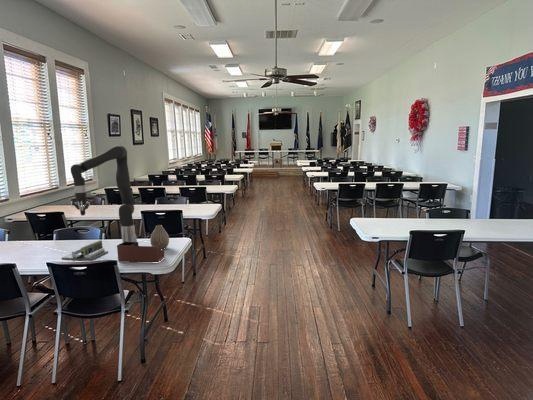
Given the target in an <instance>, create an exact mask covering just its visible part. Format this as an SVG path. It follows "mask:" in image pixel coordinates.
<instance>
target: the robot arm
mask: <svg viewBox="0 0 533 400" xmlns="http://www.w3.org/2000/svg"><path fill="white" fill-rule="evenodd" d="M112 160H116V172H115V181H116V187H117V189H118V192H119V194H120V197H121V205H120V206H119V208H118V218H119V223H120V230H121V231H120V232H121V241H122V242H121V243H123V242H138V239H137V234H136V229H135V220H133V214H134V212H135V206H134V205H135V204H134V201H133V197H132V187H131V179H130V172H129V166H128V150H127V149H126V147H125V146H122V145H114V146H113V147H111V148H110V149H108V150H106V151H105V152H103V153H101V154H98V155H96V156H92V157H91V158H90V157H89V158H88V159H85V160H84V161H82V162H80V163H74V164H72V165H71V166H70V173H71V177H72V180H73V185H74V186H73V189H74V198H75V202H72V205H73V206H74V207H75V209H76V210H79V212H80V216H85V215H86V210H87V209H88V208H90V205H91V202H89V201H88V199H87V197H88V195H87V186H86V181H85V178H84V176H83V175H82V174H83V173H85V172H87V171H90V170H92V169H94V168H97V167H99V166H100V165H103V164H105V163H106V162H110V161H112Z"/></svg>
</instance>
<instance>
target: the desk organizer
mask: <svg viewBox="0 0 533 400" xmlns="http://www.w3.org/2000/svg"><path fill="white" fill-rule="evenodd" d="M116 249H117V261H129V262H128V263H137V262H159V261H161V260H162V259H163V258H166V257H165V255H166V254H165V251H164V250H161V249H160V248H158V247H155V246H152V245H139V241H137V242H123V243H122V242H121V243H119V244H117V245H116ZM161 262H162V261H161Z"/></svg>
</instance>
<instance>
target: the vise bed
mask: <svg viewBox="0 0 533 400" xmlns="http://www.w3.org/2000/svg"><path fill="white" fill-rule="evenodd" d="M108 253H109V250H105V248H104V247H103V248H98V249H96V250H94V251H92V252H89V253H87V254H85V257H84V258H82V257H81V258H79V259H77V258H76V257H72V252H71V253H70V254H66V255H64V256H63V257H61V260H68V261H69V260H71V261H95V260H96V259H99V257H102V256H104V255H105V254H108Z"/></svg>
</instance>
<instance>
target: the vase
mask: <svg viewBox="0 0 533 400" xmlns="http://www.w3.org/2000/svg"><path fill="white" fill-rule="evenodd" d="M149 238H150V239H149V242H150V246H155V247H158V248H160V249H164V248H165V249H167V247H168V246H169V243H170V236H169V234H168V232H167V231H166V230H165V228H164V227H163V225H162V224H157V225H155V228H154V230H153V231H152V232H151V235H150V237H149ZM165 249H164V250H165Z"/></svg>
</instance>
